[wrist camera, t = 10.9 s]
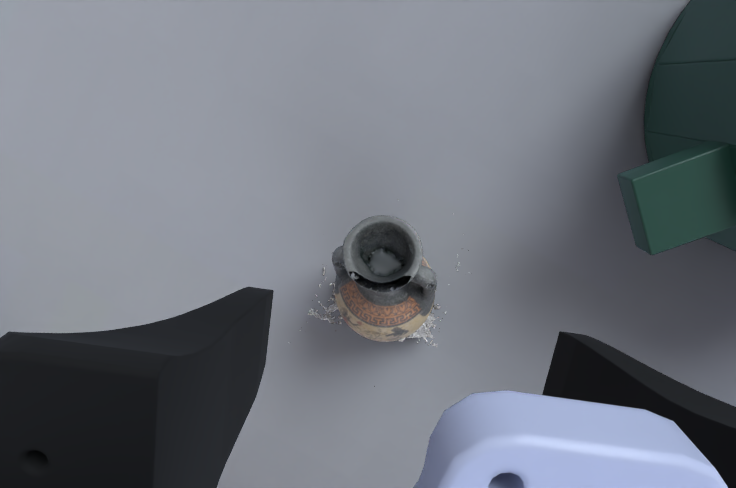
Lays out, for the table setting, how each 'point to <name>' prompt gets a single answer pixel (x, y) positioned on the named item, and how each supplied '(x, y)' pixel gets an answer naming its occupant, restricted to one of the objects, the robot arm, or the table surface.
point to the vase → (383, 282)
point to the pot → (689, 136)
